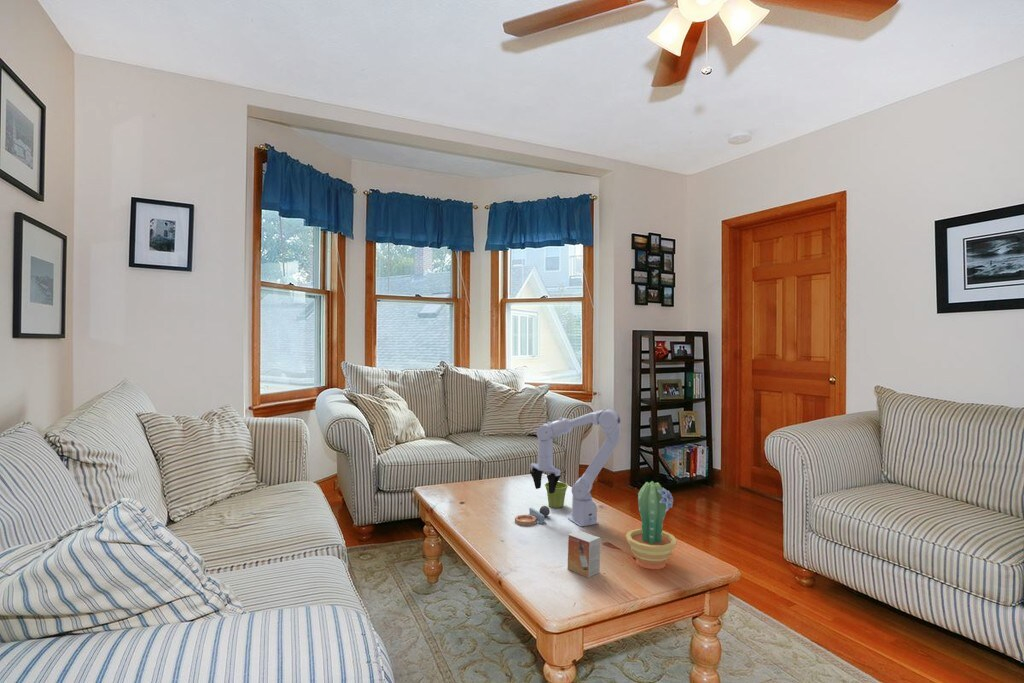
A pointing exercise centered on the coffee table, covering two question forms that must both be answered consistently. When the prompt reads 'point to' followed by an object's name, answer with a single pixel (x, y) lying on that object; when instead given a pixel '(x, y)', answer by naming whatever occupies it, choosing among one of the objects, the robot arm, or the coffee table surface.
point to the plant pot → (557, 495)
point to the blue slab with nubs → (537, 515)
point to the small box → (584, 553)
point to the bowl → (525, 520)
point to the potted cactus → (652, 528)
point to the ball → (544, 511)
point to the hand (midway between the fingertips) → (544, 490)
